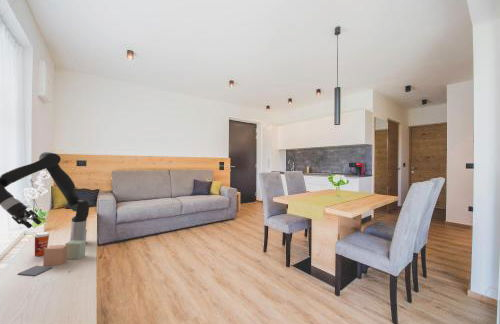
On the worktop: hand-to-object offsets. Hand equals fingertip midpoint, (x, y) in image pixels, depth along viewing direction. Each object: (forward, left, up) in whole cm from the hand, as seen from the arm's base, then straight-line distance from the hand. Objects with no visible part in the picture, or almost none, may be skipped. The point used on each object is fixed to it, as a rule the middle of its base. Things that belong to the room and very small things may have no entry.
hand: (35, 225), depth 135 cm
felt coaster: (+7, +10, -24) cm, 27 cm away
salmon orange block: (-4, +11, -24) cm, 26 cm away
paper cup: (-14, -9, -24) cm, 29 cm away
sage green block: (-14, +15, -24) cm, 31 cm away
